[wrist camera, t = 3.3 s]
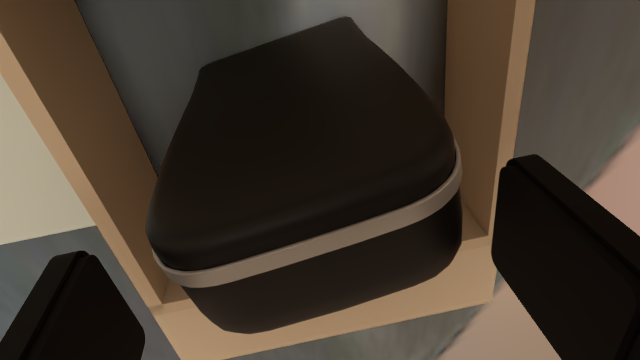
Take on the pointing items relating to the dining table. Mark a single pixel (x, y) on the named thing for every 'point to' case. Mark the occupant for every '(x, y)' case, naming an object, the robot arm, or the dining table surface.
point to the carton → (140, 178)
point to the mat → (32, 180)
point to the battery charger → (305, 183)
